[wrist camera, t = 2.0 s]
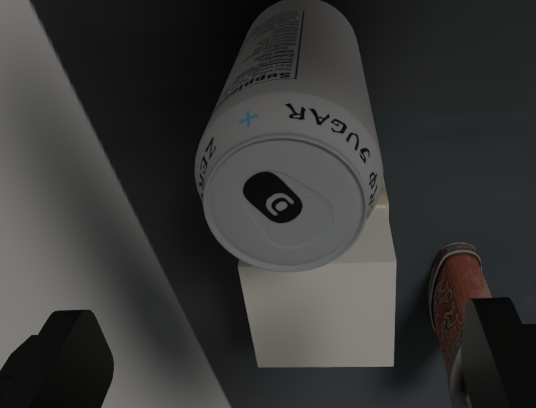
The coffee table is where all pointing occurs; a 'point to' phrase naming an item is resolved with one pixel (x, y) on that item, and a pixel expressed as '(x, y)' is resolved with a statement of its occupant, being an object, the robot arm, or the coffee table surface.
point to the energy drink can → (291, 143)
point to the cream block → (327, 306)
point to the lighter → (454, 308)
